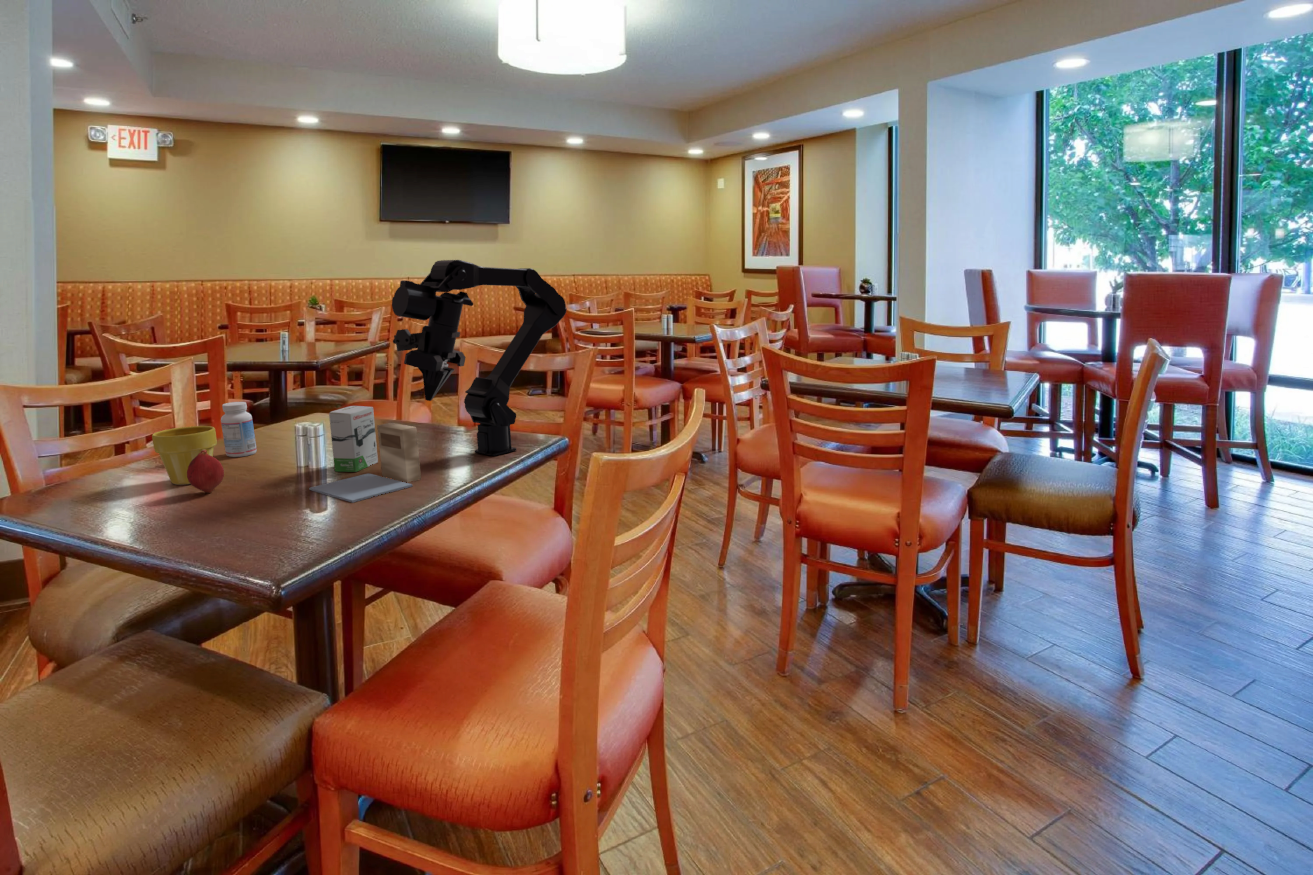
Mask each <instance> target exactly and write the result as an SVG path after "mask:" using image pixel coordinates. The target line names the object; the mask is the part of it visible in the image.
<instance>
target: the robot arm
mask: <svg viewBox="0 0 1313 875" xmlns="http://www.w3.org/2000/svg"><path fill="white" fill-rule="evenodd" d="M479 286H499V287H502V286H503V287H504V286H505V287H515V288H516V289H517V290H518V294H519V296H520V297H519V298H520V300H521V301H522V303H523V304H524V305H525V307H524V310H523V322H522V324H521V326H520V327H519V328H518V330H517V332H516V333H515V336H514V337H512V340H511V342H510V343H509V344H508V346H507V347H506V349H505V350H504V352H503V353H502V355H501V357H500V358H499V360H498V361H497V362H496V364H495V366H494V368H493V369H492V371H490V374H489V375H488V376H486V377H479V376H476V377H475V378H474V379H473V381H472V382H471V385H470V387H468V389H467V390H465V393H464V394H466V395H465V397H464V400H463V403H464V408H465V410H466V413H467V414H468V415H469V416H470V418H471V421H472V422H473V423H475V424H477V432H476V440H477V442H476V443H477V449H474V453H476V454H482V455H487V456H493V457H496V456H499V455H504V454H507V453H511V452H515V451H517V447H514V446H512V436H511V435H512V434H511V425H515V424H516V418H517V413H516V412H515V411H514V410H513V409H511V407H509V405H508V403H509V401H510V389H511V386H512V385H513V382H514V381H515V379H516V377H517V376H518V375H519V373H520V372H521V370H522V368H523V366H524V365H525V364H526V362H527V360H528V359H529V357H530V355H531V354H532V353H533V351H534V349H535V348H536V346H537V345H538V343H539V341H540V340H541V338H542V337H543V335H544V334H546V333H547V332H548V331H550V330H551V329H553V328H554V327H556V326H557V325H558V324H559V323H560V322H561V320H563V318H564V317H565V316H566V313H567V305H566V300H565V298H564V297H563V296H562V295H561V294H560V293H558V291H557V290H556V288H554V287H553V286H552V285H551V284H550V283H548V282H547V281H546V280H544V279H543V277H541V276H540V274H539V273H538V271H536V270H535V269H534V268H531V267H530V268H529V267H525V268H522V267H521V268H510V267H509V268H505V267H489V266H488V267H487V266H482V265H481V266H480V265H477V264H475V263H473V262H468V261H465V260H462V259H461V260H460V259H446V260H445V259H443V260H437V261H435V262H434V264H433V265H432V266H431V268H430V272H429V273H428V275H427V276H426V277H425V278H424V279H423V280H422V281H421V282H420V283H416V282H414V281H411V280H400V282H399V286H398V288H397V289H396V290H395V292H394V294H393V297H392V298H391V307H392V312H393V313H394V315H395V316H397V317H401V318H407V319H412V320H413V319H414V320H419V321H428V324H427V325H424V326H422V329H421V332H413V333H411V332H410V331H409V329H408V328H406V329H405V328H403V329H402V328H401V329H397V330H396V333H395V335H393V339H392V343H393V344H394V345H395V346H396V352H403V351H404V352H405V351H408V352H407V353H405V355H404V360H403V364H404V365H407V366H411V367H415V368H418V370H419V372H421V374H422V380H423V391H424V392H423V393H424V400H425V401H426V402H427V401H428V402H431V401H433V399H434V398H435V396H436V395H437V393H438V392H439V391H440V389H441V388H442V387H443V385H444V384H445V382H446V381H447V380H448V379H449V377H450V376H451V374H452V373H453V372H455V369H454V368H452V367H449V363H451V364H456V365H457V367H464V366H465V361H466V359H467V358H466V356H465V354H464V352H463V351H461V350H455V346H456V341H457V338H460V335H461V332H460V331H458V330H459V326H460V322H461V321H460V320H461V315H462V312H463V306H464V305H465V306H469V307H472V306H473V305H474V302H473V301H472V300H471V298H470V297H469V294H468V292H466V291H462V290H467V289H471V288H472V289H473V288H477V287H479ZM453 290H454V291H459V292H458V293H452V292H451V291H453ZM437 293H441V294H440V295H437Z"/></svg>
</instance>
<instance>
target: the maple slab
mask: <svg viewBox="0 0 1313 875" xmlns="http://www.w3.org/2000/svg"><path fill="white" fill-rule="evenodd" d="M376 426H377V437H378V448H379V456H380V457H379V458H380V466H381V477H382V476H383V477H385V478H386V477H387V478H389V479H390V478H392V479H393V480H394V479H395V480H397V481H401V482H402V481H403V482H405V483H406V482H407V483H408V482H409V483H412V482H411V481H413V482H416V481H419V480H422V475H421V474H422V472H421V464H420V453H419V451H420V450H419V443H418V441H419V440H418V431H417V427H416V426H412V425H406V424H401V423H394V422H388V423H383V424H377V425H376Z"/></svg>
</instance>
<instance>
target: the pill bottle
mask: <svg viewBox="0 0 1313 875" xmlns="http://www.w3.org/2000/svg"><path fill="white" fill-rule="evenodd" d="M247 408H248V406H247V402H246V401H232V402H227V403H225V402H224V403H223V404H222V411H223V412H224V414H223V415H222V416H221V418H220V423H221V424H220V425H221V430H222V437H223V443H224V445H223V446H224V450H225V451H224V452H225V455H226V456H227V457H230V458H241V457H242V458H243V457H247V456H252V455H254V454H256V453H257V451H258V450H257V448H258V447H257V442H256V436H255V429H254V422H253V416H252V414H251V413H250V412H248V411H247V410H248V409H247Z"/></svg>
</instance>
